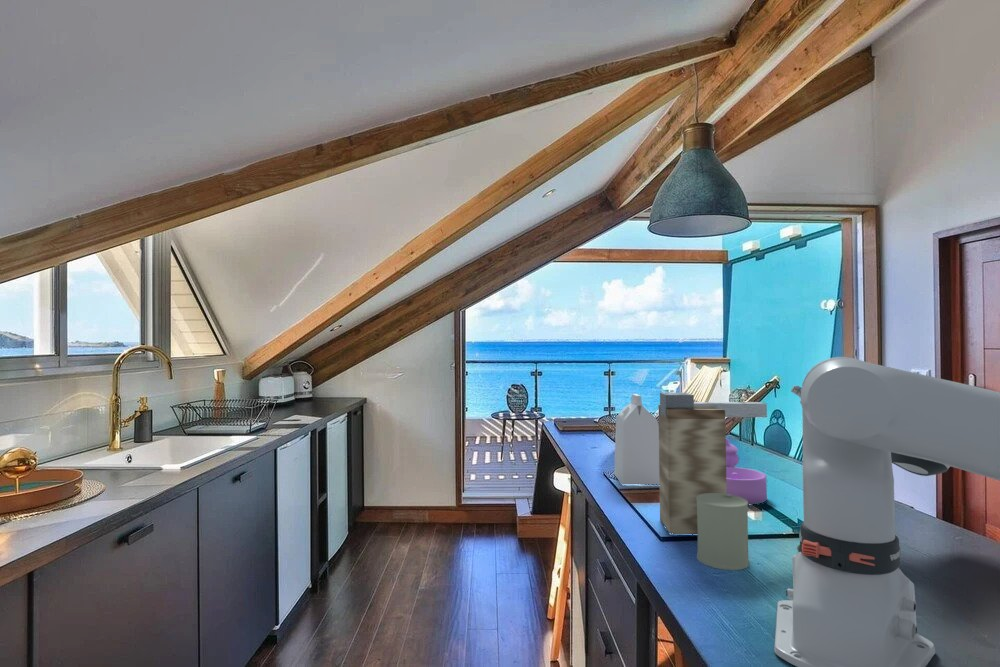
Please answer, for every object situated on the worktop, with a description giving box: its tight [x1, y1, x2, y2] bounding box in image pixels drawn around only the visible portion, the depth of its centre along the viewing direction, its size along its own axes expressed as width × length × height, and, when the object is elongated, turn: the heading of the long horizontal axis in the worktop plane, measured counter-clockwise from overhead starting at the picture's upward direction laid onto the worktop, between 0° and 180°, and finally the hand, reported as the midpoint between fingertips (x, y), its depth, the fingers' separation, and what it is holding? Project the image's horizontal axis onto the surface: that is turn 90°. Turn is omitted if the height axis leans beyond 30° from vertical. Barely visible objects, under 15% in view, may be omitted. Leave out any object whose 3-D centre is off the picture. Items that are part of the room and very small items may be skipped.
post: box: [658, 404, 727, 535], centre depth 119 cm, size 12×10×27 cm
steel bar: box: [659, 392, 768, 418], centre depth 119 cm, size 22×6×5 cm, turn 85°
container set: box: [726, 438, 768, 504], centre depth 148 cm, size 25×15×13 cm, turn 167°
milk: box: [613, 393, 660, 484], centre depth 161 cm, size 12×12×26 cm
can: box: [696, 493, 751, 571], centre depth 101 cm, size 9×9×12 cm
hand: (803, 390), depth 117 cm, fingers open, 8 cm apart
